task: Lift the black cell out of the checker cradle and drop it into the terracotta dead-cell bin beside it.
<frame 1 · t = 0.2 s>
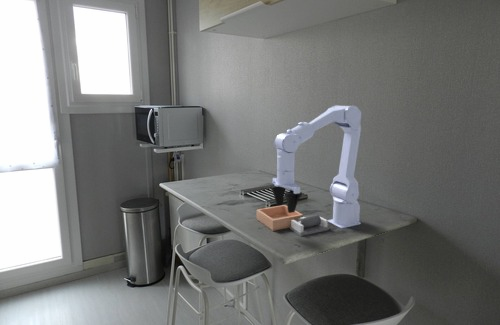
hand: (285, 208, 112), 10 cm above the table, fingers open, 7 cm apart
checker cradle: (309, 229, 119), on the table
cell: (309, 221, 119), point 3 cm above the table, touching checker cradle
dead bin: (279, 222, 126), on the table
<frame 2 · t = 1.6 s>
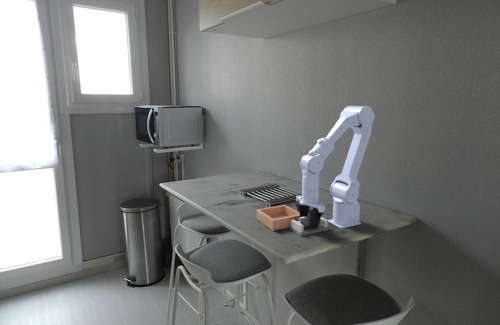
hand: (309, 225, 119), 2 cm above the table, fingers open, 5 cm apart
cell: (308, 221, 119), point 3 cm above the table, tilted 11°, touching checker cradle
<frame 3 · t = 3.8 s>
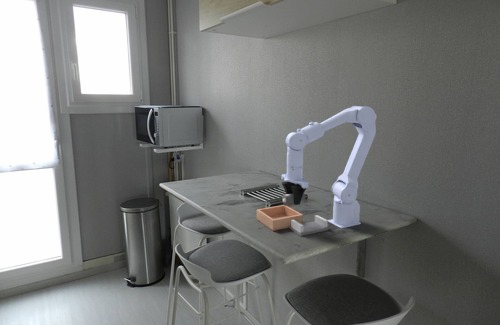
hand: (293, 202, 121), 9 cm above the table, fingers closed on cell, 4 cm apart
cell: (293, 198, 121), point 10 cm above the table, touching gripper
when the fingers open (4 cm above the table, at t = 5.5 s): cell drops 3 cm, resting on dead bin.
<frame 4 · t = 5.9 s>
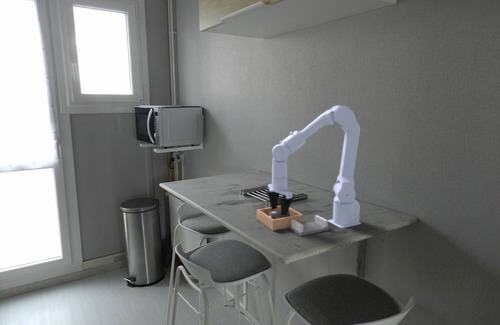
hand: (279, 211, 126), 4 cm above the table, fingers open, 7 cm apart
cell: (279, 216, 126), point 2 cm above the table, touching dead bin
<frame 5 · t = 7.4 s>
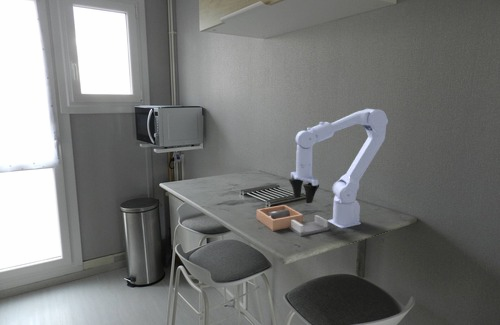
hand: (303, 199, 123), 9 cm above the table, fingers open, 7 cm apart
nothing on the table moved.
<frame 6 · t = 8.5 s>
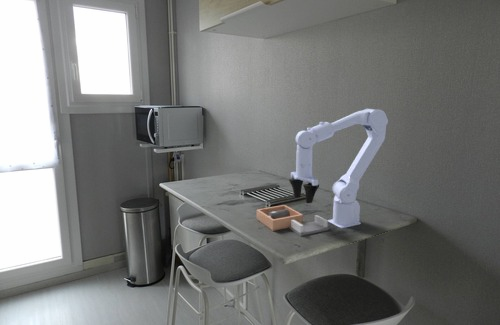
hand: (303, 199, 123), 9 cm above the table, fingers open, 7 cm apart
nothing on the table moved.
at the end: cell inside the target area on the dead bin (0.1 cm from its centre), point 2.5 cm above the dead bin's base; the gripper is holding nothing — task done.
